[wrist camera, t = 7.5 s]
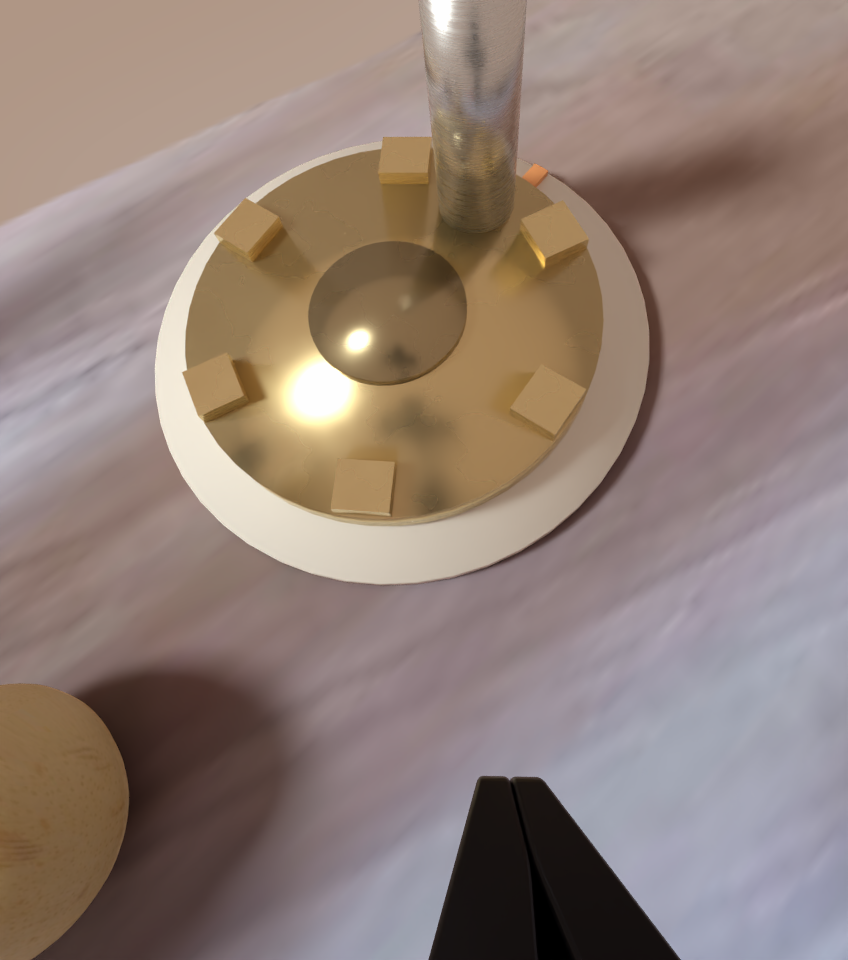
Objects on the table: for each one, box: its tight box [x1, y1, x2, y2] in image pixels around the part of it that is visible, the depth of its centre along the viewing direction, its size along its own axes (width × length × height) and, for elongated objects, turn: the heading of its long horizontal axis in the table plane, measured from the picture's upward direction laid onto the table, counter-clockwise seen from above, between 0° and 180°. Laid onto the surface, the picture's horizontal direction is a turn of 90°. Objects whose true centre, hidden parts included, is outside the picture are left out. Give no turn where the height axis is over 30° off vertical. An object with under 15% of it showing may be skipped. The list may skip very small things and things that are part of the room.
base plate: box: [155, 141, 649, 586], centre depth 25 cm, size 20×20×1 cm
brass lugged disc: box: [182, 0, 604, 526], centre depth 20 cm, size 16×16×10 cm
